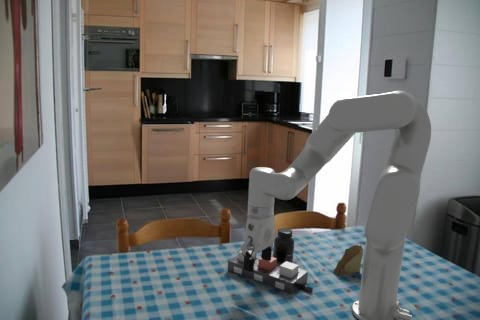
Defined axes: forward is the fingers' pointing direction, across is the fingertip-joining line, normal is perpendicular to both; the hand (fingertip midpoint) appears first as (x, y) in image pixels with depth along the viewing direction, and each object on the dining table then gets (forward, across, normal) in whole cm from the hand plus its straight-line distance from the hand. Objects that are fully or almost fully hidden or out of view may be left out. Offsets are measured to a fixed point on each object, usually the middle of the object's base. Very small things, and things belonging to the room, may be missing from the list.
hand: (257, 264), depth 128 cm
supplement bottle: (+7, +18, +1) cm, 20 cm away
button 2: (+6, +6, 0) cm, 9 cm away
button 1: (+6, +6, -7) cm, 11 cm away
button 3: (+6, +6, +8) cm, 12 cm away
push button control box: (+7, +6, -2) cm, 9 cm away
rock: (+7, +27, -18) cm, 33 cm away
